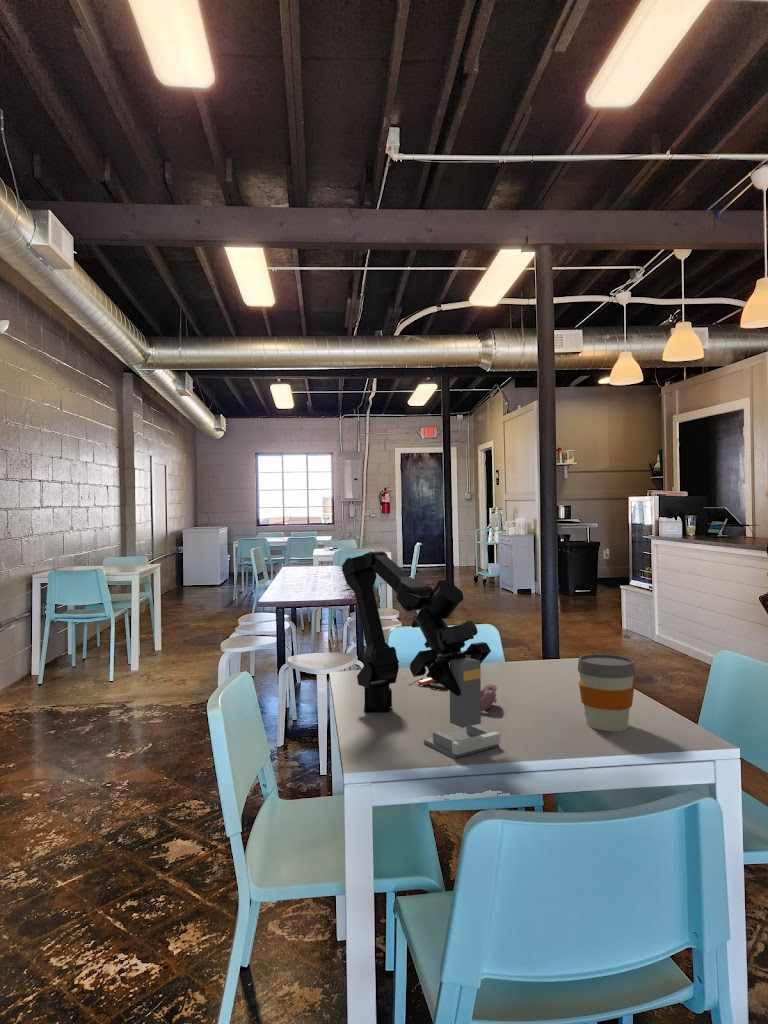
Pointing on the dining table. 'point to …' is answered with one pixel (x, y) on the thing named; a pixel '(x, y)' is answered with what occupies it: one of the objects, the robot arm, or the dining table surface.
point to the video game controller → (488, 696)
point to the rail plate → (464, 741)
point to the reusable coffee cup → (606, 690)
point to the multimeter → (430, 681)
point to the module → (466, 692)
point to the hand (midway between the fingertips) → (469, 692)
